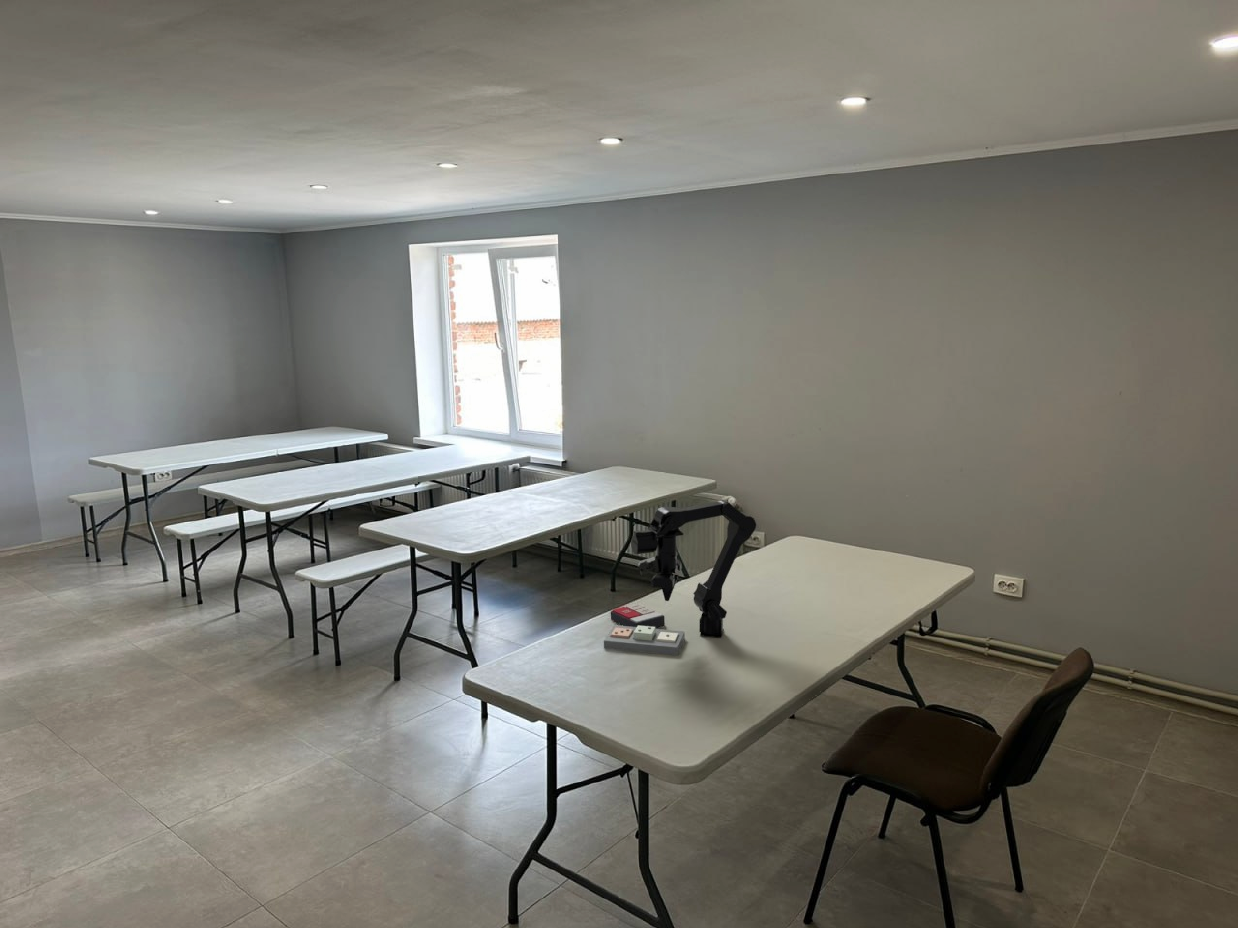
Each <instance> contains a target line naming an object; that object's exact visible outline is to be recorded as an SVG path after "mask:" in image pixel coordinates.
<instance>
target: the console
mask: <svg viewBox="0 0 1238 928" xmlns="http://www.w3.org/2000/svg"><path fill="white" fill-rule="evenodd" d="M615 628H626V629H633V633H632V635H631V637H630V638H629V639H628V638H617V637H611V634H612V632H613V631H614V629H615ZM636 628H637V627H630V626H622V625H620V624H619V625H618V624H614V625H613V626H612V628H611V629H610V630H609V632H608V633H607V635H606V637H605V638H604V640H603V648H604V649H609V650H617V651H618V650H621V651H630V652H641V653H650V654H662V655H670V656H671V655H672V656H678V655H679V652H680V650H681V647H682V645H683V644H684V641H685V631H684V630H674V629H673V630H672V629H671V630H670V629H661V628H656V629H655V637H654V638H653V640H652V641H649V640H639V639H634V631H635V629H636ZM660 632H669V633H678V639H677V641H676V643H671V642H660V641H657V638H658V636H659V634H660Z"/></svg>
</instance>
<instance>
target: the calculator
mask: <svg viewBox="0 0 1238 928" xmlns="http://www.w3.org/2000/svg"><path fill="white" fill-rule="evenodd" d="M610 619H611V621H612V622H615V623H617V625H618V624H619V626H630V627H637V626H638V625H639V626H650V627H655V629H661V628H663V627H665V625H666V623H665V619H666V618H665V615H663V613H660V612H657V611H656V610H653V609H651V608H649V607H646V606H645V605H642V604H640V603H633V604H630V605H626V606H622V607H621V606H620V607H617V608H614V609H612V610H611V611H610Z"/></svg>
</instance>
